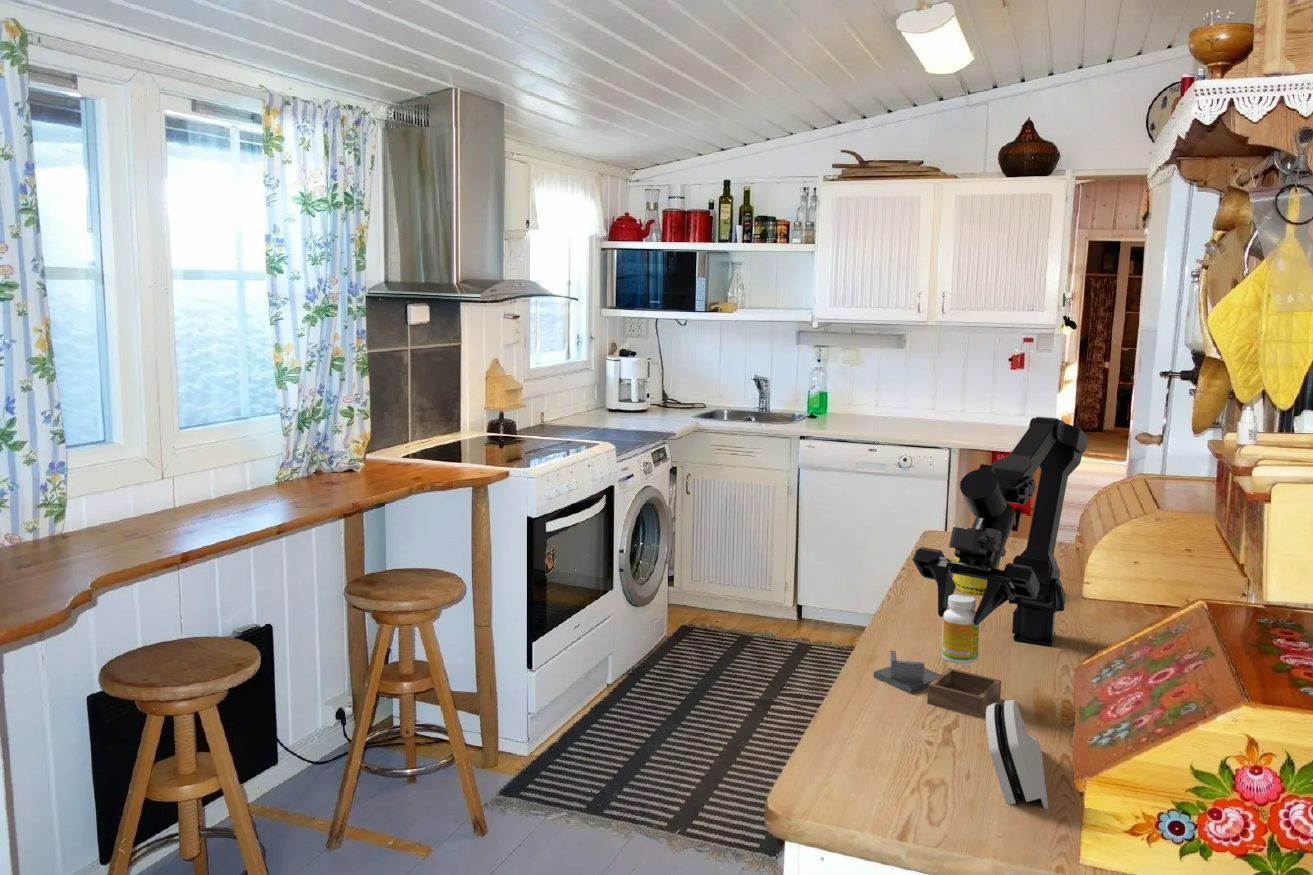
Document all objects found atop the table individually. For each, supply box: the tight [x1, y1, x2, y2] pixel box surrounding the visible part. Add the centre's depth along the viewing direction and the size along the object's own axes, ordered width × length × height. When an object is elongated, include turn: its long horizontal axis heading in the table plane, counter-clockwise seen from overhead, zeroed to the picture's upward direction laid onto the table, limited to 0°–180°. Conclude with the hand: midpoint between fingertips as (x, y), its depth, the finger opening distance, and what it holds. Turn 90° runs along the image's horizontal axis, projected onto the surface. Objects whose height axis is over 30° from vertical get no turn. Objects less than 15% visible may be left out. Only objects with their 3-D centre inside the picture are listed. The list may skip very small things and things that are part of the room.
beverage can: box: [953, 526, 1001, 596], centre depth 212 cm, size 9×9×12 cm
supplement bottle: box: [941, 593, 980, 665], centre depth 157 cm, size 5×5×10 cm
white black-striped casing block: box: [985, 699, 1049, 810], centre depth 135 cm, size 17×5×10 cm, turn 162°
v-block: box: [873, 650, 942, 695], centre depth 166 cm, size 8×8×4 cm
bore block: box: [926, 667, 1002, 718], centre depth 158 cm, size 8×8×3 cm
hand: (957, 619), depth 156 cm, fingers closed on supplement bottle, 5 cm apart
